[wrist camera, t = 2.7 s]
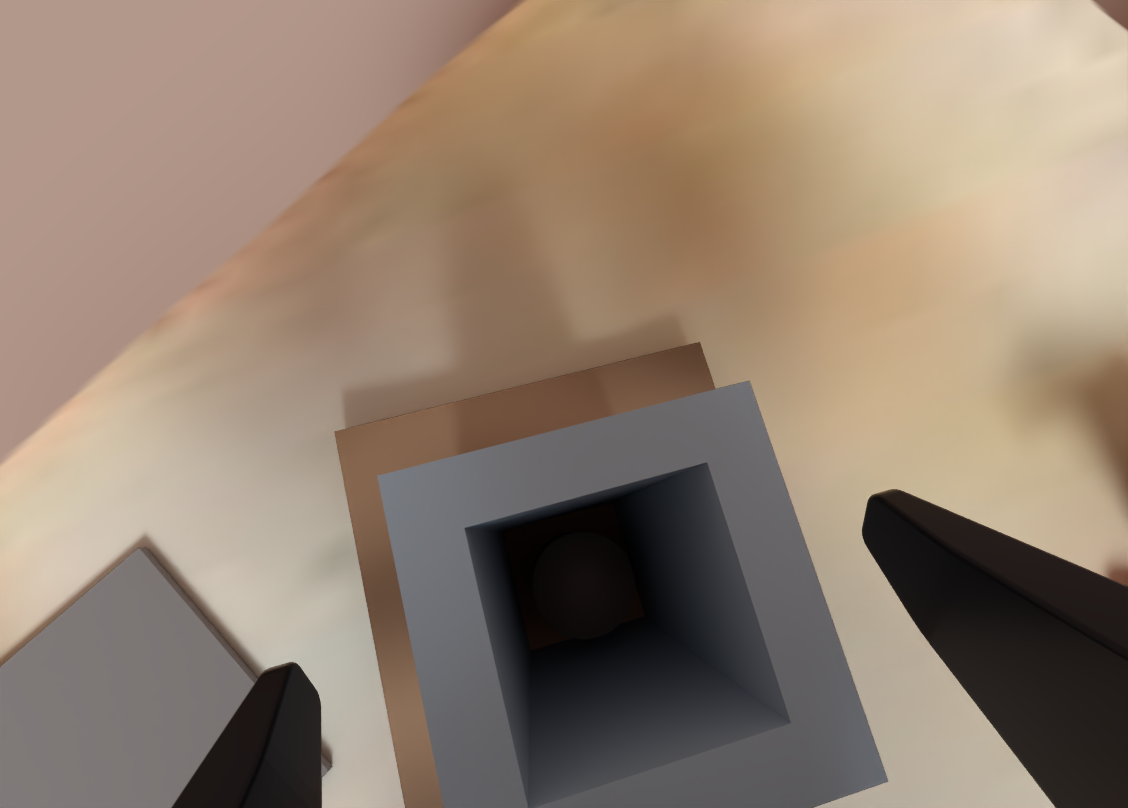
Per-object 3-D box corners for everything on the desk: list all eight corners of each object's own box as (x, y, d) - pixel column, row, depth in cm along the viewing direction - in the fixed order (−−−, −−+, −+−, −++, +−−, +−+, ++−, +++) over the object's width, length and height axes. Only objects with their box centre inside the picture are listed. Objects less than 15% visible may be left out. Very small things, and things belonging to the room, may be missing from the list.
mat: (70, 1035, 14) (59, 1046, 13) (-120, 776, 15) (-134, 781, 14) (332, 766, 15) (328, 770, 15) (145, 547, 16) (138, 547, 16)
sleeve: (686, 641, 15) (888, 780, 7) (505, 696, 15) (468, 927, 6) (633, 462, 16) (749, 380, 8) (462, 508, 16) (377, 475, 7)
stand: (809, 713, 16) (912, 780, 12) (423, 840, 15) (377, 966, 11) (690, 352, 18) (740, 294, 14) (345, 437, 17) (281, 404, 13)
